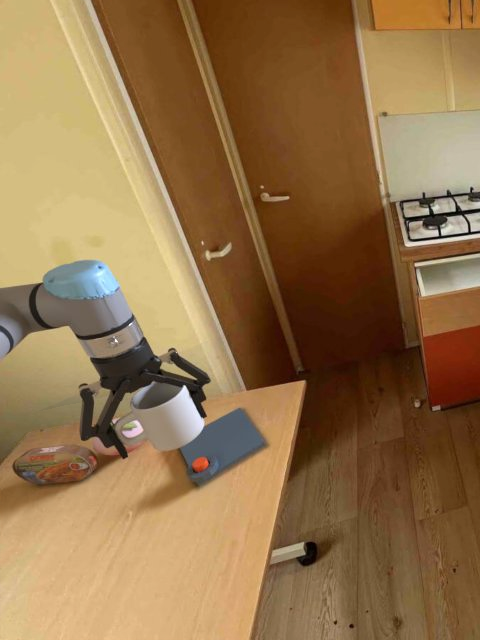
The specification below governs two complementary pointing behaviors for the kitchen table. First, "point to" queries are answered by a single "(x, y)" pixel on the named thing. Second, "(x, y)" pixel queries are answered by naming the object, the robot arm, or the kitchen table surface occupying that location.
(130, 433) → the decorative fruit
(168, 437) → the mug
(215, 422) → the scale
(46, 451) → the tin
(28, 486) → the kitchen table surface
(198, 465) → the scale button
